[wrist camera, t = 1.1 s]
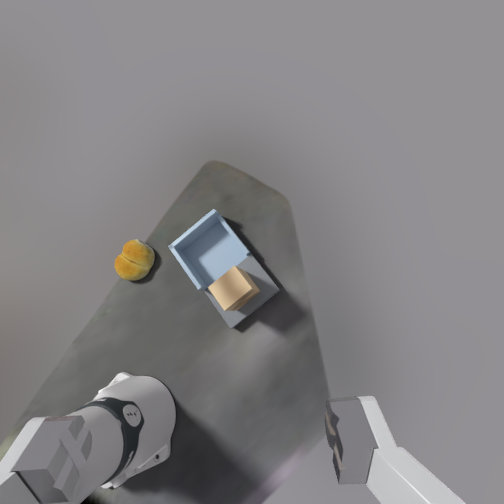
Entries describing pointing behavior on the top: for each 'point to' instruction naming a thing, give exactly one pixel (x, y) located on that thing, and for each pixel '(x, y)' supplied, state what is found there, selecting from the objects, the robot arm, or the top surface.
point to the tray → (209, 250)
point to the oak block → (234, 289)
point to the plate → (266, 292)
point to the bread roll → (134, 260)
